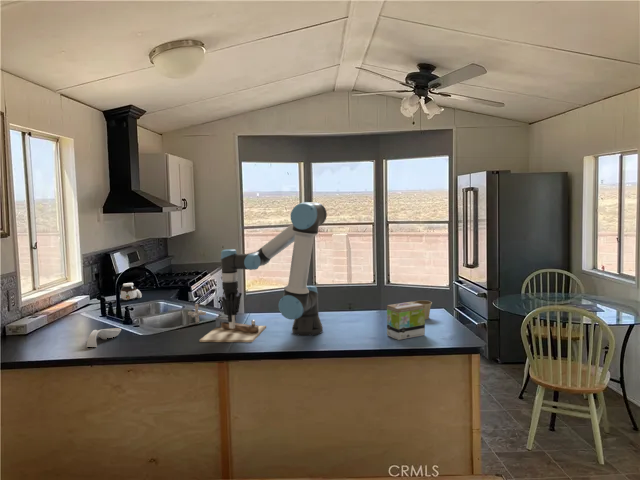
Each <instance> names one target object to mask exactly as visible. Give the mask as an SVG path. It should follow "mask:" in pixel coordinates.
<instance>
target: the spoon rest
mask: <svg viewBox="0 0 640 480" xmlns="http://www.w3.org/2000/svg"><path fill="white" fill-rule="evenodd" d="M121 331H122V329H121V328H118V327H115V328H113V327H112V328H104V329H99V330H97V329H94V330H92V331H91V333H90V334H89V336H88V338H87V342H86V348H87V347H96V348H97V347H98V346H97V345H98V344H97V336H98V337H99V339H100V338H101V340H108V339H107V338H112V339H114V338H116V337H118V335H119V334H120V333H121ZM113 337H114V338H113Z"/></svg>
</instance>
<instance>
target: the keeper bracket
mask: <svg viewBox="0 0 640 480" xmlns="http://www.w3.org/2000/svg"><path fill="white" fill-rule="evenodd" d="M223 322H228V317H226V316H225V317H224V316H218V317H215V328H216V327H218V328H221V327H222V325H221V323H223ZM228 323H229V322H228Z"/></svg>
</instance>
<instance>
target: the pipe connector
mask: <svg viewBox="0 0 640 480" xmlns="http://www.w3.org/2000/svg"><path fill="white" fill-rule="evenodd" d="M187 315H188V316H191V318H195V324H199V323H200V316H206V315H207V312H206V311H203V310H202V309H200V310H199V304H194V311H187ZM198 322H199V323H198Z"/></svg>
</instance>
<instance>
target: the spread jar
mask: <svg viewBox="0 0 640 480" xmlns="http://www.w3.org/2000/svg"><path fill="white" fill-rule="evenodd" d="M142 295H143V294H142V292H141V291H140V290H139V289H138V288H136V286H134V283H133V282H127V283H123V284H122V287H121V289H120V299H122V300H123V301H124V302H130V301H134V300H136V298H137V299H140V298H142Z"/></svg>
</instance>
